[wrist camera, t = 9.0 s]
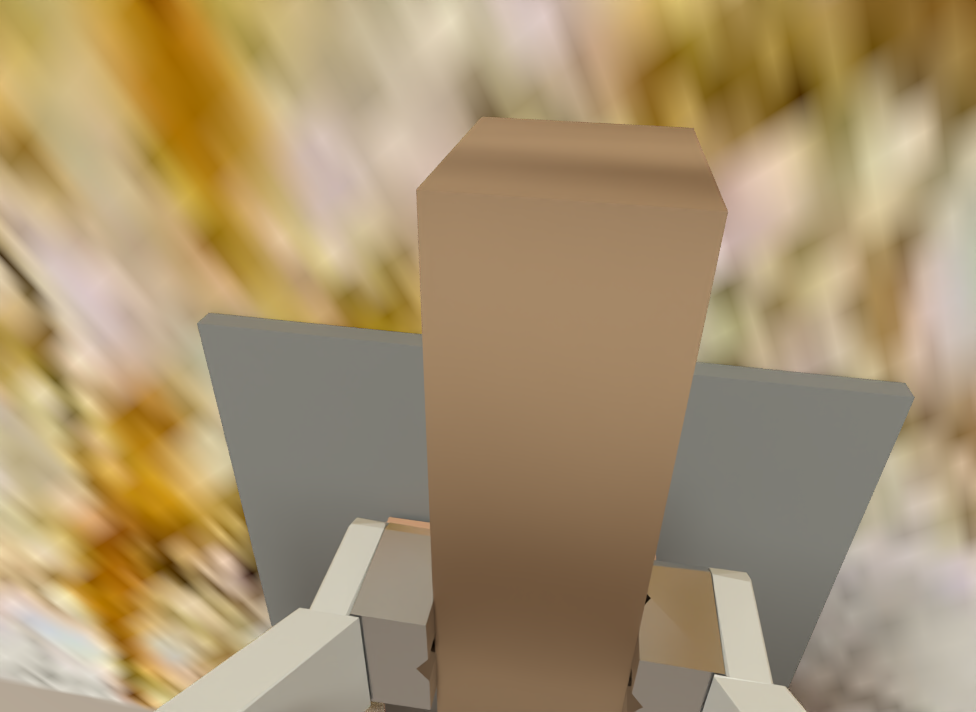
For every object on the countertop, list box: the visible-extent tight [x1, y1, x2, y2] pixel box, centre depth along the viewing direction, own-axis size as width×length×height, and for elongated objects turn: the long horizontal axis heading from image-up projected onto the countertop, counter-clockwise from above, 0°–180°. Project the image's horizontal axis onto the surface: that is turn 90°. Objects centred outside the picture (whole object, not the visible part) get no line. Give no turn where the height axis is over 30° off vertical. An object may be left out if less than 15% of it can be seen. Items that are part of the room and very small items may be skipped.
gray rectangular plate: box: [197, 313, 915, 689], centre depth 21 cm, size 18×15×1 cm
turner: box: [384, 117, 728, 712], centre depth 10 cm, size 15×6×3 cm, turn 179°
